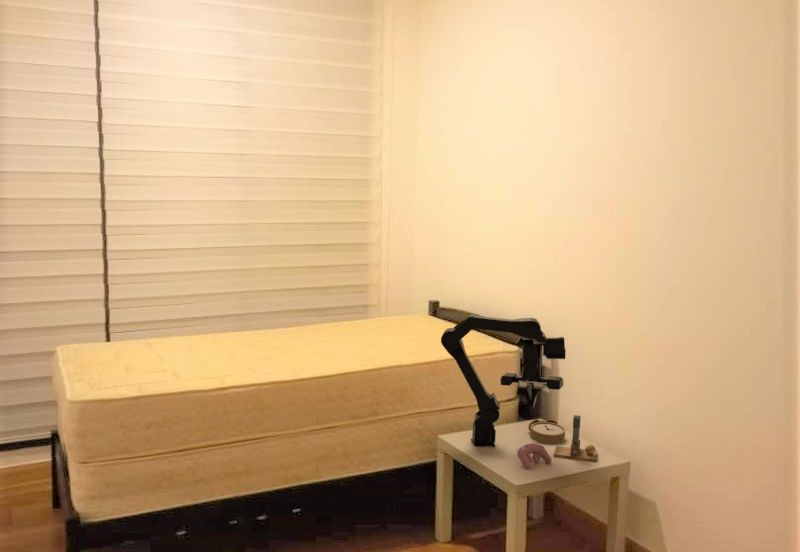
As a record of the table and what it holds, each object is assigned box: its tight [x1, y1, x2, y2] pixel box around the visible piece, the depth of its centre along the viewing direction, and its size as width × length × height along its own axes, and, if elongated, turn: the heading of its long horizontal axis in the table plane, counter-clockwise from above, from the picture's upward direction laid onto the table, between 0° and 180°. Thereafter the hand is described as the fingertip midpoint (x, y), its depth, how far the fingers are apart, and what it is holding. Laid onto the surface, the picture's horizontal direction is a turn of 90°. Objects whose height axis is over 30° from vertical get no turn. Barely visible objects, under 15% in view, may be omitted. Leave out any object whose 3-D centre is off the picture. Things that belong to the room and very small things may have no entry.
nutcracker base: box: [553, 438, 598, 463], centre depth 229 cm, size 12×8×4 cm, turn 73°
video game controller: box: [516, 442, 552, 470], centre depth 220 cm, size 10×5×7 cm, turn 123°
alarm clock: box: [528, 419, 566, 444], centre depth 246 cm, size 11×5×15 cm
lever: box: [571, 414, 582, 445], centre depth 228 cm, size 2×3×10 cm, turn 163°
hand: (531, 407), depth 233 cm, fingers closed
